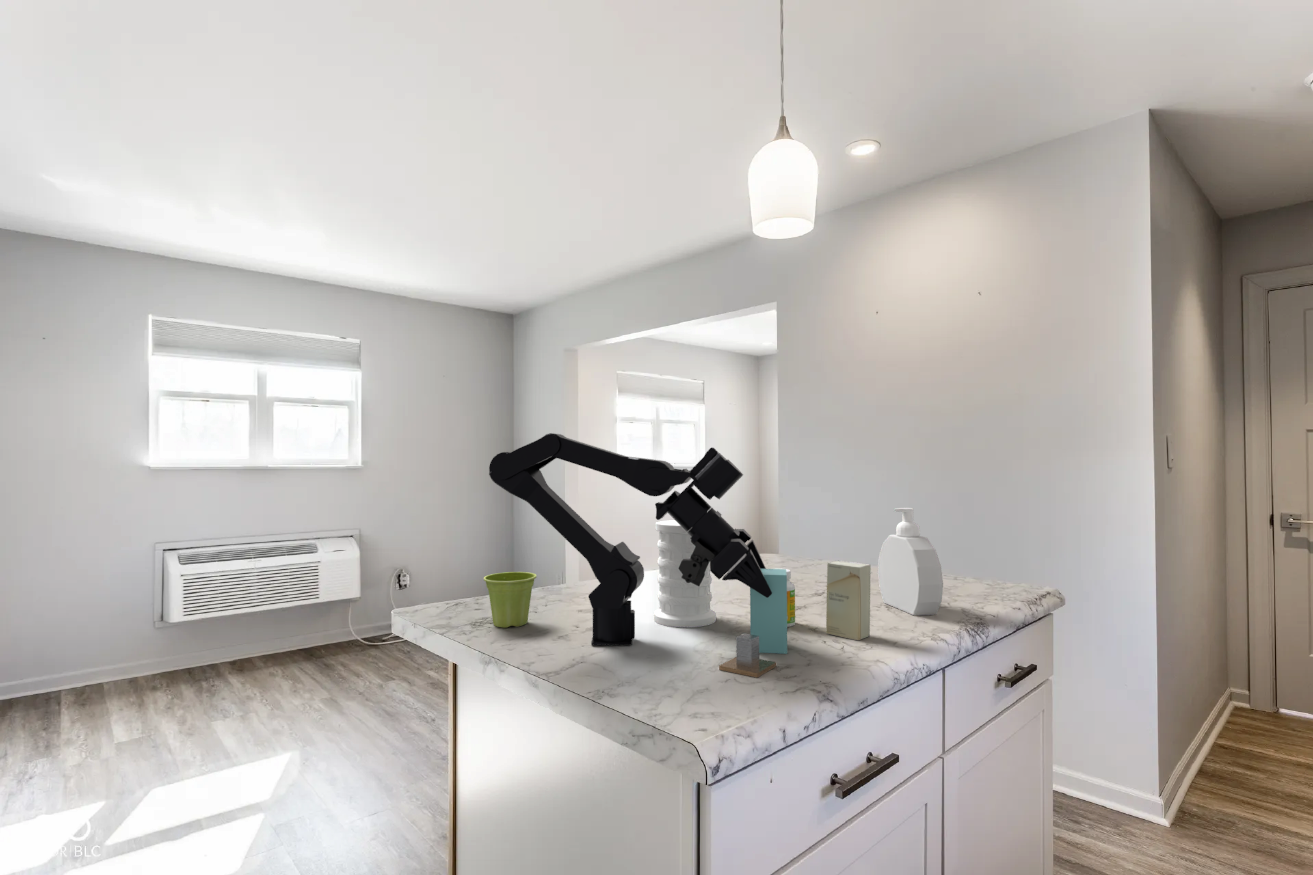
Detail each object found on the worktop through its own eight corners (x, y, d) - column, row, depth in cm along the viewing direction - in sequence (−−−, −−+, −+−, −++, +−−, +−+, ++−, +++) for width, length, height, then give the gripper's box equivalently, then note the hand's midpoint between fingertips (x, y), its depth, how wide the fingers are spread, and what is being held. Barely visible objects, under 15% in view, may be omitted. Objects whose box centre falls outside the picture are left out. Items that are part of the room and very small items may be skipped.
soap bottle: (876, 600, 140) (874, 505, 141) (899, 599, 141) (898, 505, 141) (918, 618, 124) (916, 511, 125) (944, 617, 125) (942, 511, 126)
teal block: (750, 651, 103) (750, 574, 104) (751, 642, 109) (751, 568, 109) (787, 653, 102) (786, 575, 103) (786, 643, 108) (785, 569, 108)
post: (719, 669, 95) (719, 637, 95) (739, 659, 100) (739, 628, 100) (757, 677, 91) (757, 644, 91) (776, 666, 96) (775, 634, 96)
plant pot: (515, 632, 115) (515, 582, 115) (472, 627, 119) (472, 578, 119) (546, 620, 124) (546, 573, 124) (505, 615, 128) (506, 570, 128)
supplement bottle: (795, 628, 118) (794, 573, 118) (764, 626, 119) (764, 572, 119) (795, 621, 123) (794, 568, 123) (765, 619, 124) (765, 567, 124)
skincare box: (825, 634, 114) (824, 562, 114) (838, 629, 117) (837, 559, 117) (860, 641, 109) (859, 566, 110) (872, 635, 113) (871, 563, 113)
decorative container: (707, 629, 117) (707, 526, 118) (645, 624, 121) (645, 524, 121) (721, 614, 128) (721, 520, 129) (664, 610, 132) (664, 519, 132)
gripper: (673, 547, 118) (737, 611, 116) (655, 563, 100) (731, 640, 97) (717, 502, 117) (782, 566, 115) (707, 510, 99) (785, 587, 96)
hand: (769, 589), depth 106 cm, fingers open, 9 cm apart
